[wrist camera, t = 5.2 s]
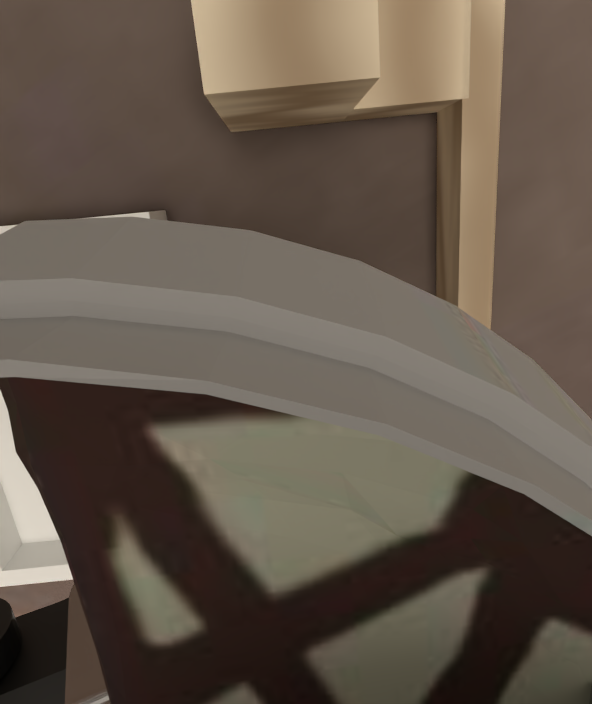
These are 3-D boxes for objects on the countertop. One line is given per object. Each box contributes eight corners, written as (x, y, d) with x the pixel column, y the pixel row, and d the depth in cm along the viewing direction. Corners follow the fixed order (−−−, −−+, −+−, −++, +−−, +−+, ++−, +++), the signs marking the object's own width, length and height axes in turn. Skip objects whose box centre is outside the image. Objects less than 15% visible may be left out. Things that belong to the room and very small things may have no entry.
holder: (281, 534, 28) (283, 661, 20) (218, 27, 19) (179, -82, 12) (460, 516, 28) (528, 636, 20) (473, 3, 19) (598, -122, 12)
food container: (445, 568, 15) (719, 1172, 6) (261, 591, 15) (237, 1232, 6) (440, 173, 11) (1269, 63, 2) (191, 204, 11) (-240, 245, 2)
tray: (18, 547, 27) (-12, 587, 24) (-92, 235, 21) (-148, 240, 19) (221, 526, 27) (214, 564, 24) (165, 209, 22) (148, 211, 19)
